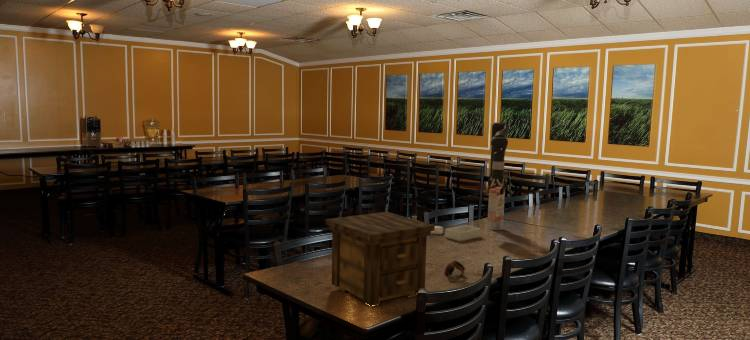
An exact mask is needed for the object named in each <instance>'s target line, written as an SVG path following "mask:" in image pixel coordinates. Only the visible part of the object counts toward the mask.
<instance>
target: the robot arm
mask: <svg viewBox="0 0 750 340" xmlns="http://www.w3.org/2000/svg"><path fill="white" fill-rule="evenodd" d="M508 131H509V125H508V123H507V122H493V123H492V124H491V141H490V146H491V149H490V166H489V167H490V169H489V176H488V177H487V183H488V184H487V185H488V190H489V189H492V188H496V187H500V188H501V189H500V195H503V194H504V188H505V189H507V188H508V181H509V180H508V178H504V177H505V156H506V155H505V154H506V150H507V148H508V144H509V140H508V138H507V136H508V133H509V132H508ZM488 229H489V230H491V231H502V230H503V229H504V215H503V219H501V220H499V221H496V222H492V221H488Z"/></svg>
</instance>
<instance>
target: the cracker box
mask: <svg viewBox="0 0 750 340" xmlns="http://www.w3.org/2000/svg"><path fill="white" fill-rule="evenodd" d="M500 189H501V188H500V187H496V188H492V189H489V188H488V207H487V222H489V221H492V222H496V221H499V220H501V219H503V220H504V218H503V216H504V213H505V212H504V211H505V198H506V197H505V195H506V188H504V194H503V195H500Z"/></svg>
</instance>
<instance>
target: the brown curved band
mask: <svg viewBox="0 0 750 340" xmlns="http://www.w3.org/2000/svg"><path fill="white" fill-rule="evenodd" d="M455 269H457V270H458V271H460V272H461V273H460V277H463V276H464V274H465V269H466V267H465V266H464V265H463V264H462V263H460V262H459V261H457V260H452V261H451V262H449V263H448V264H447V265H446V267H445V269H444V271H443V274H444V276H452V275H453V272H454V271H455Z"/></svg>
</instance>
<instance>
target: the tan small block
mask: <svg viewBox="0 0 750 340" xmlns="http://www.w3.org/2000/svg"><path fill="white" fill-rule="evenodd" d="M443 233H444V227H443V226H440V225H435V228H434V231H431V235H432V234H433V235H442V234H443Z"/></svg>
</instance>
